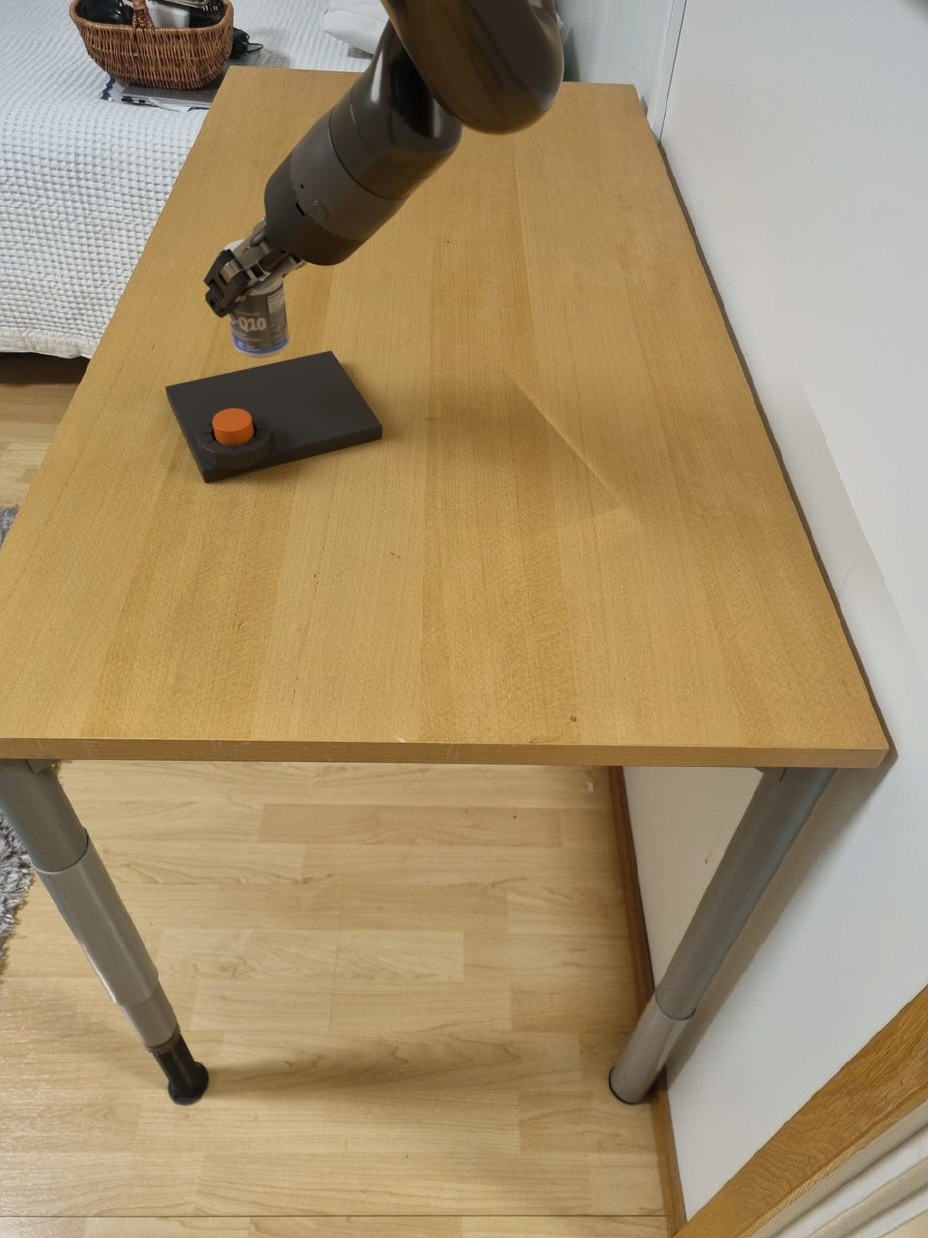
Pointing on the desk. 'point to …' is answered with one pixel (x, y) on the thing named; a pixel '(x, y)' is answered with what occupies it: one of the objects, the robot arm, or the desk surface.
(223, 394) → the black flat block
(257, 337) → the pill bottle
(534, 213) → the desk surface
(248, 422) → the button
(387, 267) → the desk surface
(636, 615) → the desk surface
